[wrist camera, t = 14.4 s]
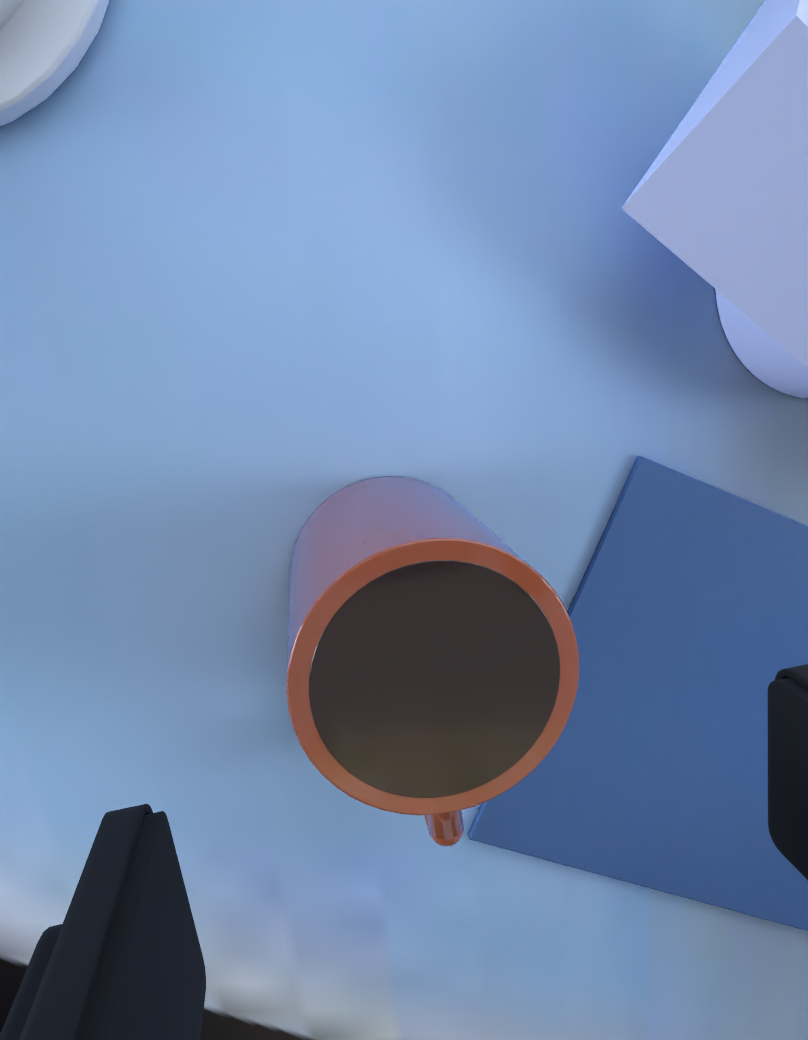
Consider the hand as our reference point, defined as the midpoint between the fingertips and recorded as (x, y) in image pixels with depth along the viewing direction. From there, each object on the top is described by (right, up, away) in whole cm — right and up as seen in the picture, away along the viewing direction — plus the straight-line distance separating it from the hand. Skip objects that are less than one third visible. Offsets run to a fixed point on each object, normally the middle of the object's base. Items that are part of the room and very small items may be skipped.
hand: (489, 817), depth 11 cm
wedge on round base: (+12, +14, +15) cm, 24 cm away
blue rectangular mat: (+13, -4, +19) cm, 23 cm away
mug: (-2, +1, +15) cm, 15 cm away
